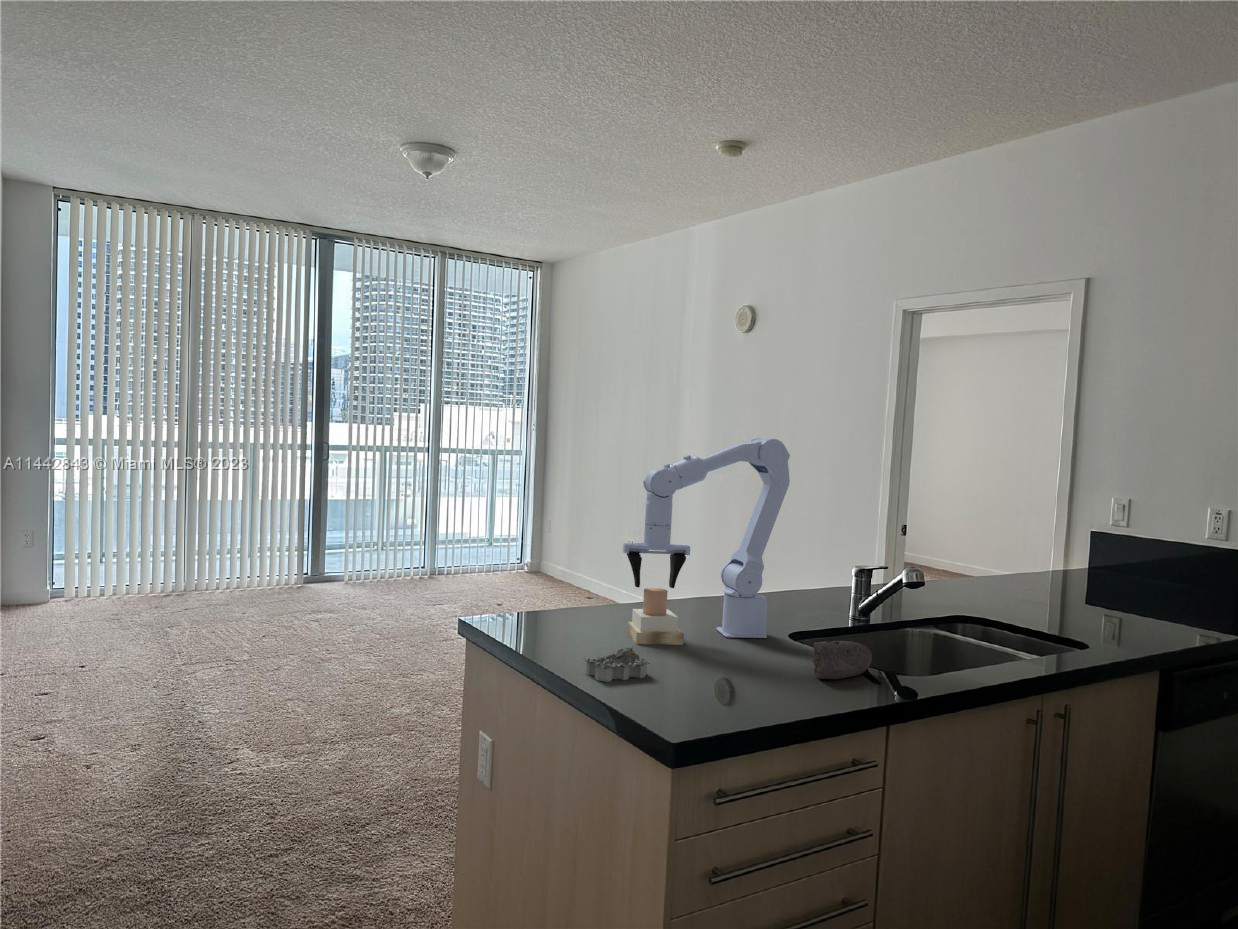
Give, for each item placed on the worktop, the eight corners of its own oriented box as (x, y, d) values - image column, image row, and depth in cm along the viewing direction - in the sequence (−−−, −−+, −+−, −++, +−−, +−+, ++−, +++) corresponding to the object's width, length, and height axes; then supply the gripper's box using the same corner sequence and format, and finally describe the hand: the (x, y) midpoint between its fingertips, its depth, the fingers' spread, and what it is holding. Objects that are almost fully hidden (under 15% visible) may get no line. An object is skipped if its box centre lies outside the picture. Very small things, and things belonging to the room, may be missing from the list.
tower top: (667, 622, 180) (668, 609, 180) (677, 631, 173) (678, 617, 172) (631, 622, 179) (632, 608, 179) (640, 631, 171) (641, 617, 171)
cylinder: (669, 612, 177) (670, 589, 176) (662, 617, 172) (663, 593, 172) (647, 610, 178) (648, 587, 178) (639, 614, 174) (640, 590, 174)
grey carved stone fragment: (633, 668, 153) (634, 646, 153) (652, 679, 146) (654, 656, 146) (580, 672, 148) (582, 649, 148) (598, 684, 141) (599, 660, 141)
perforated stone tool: (860, 669, 160) (862, 634, 159) (881, 677, 155) (883, 641, 155) (801, 677, 152) (803, 639, 152) (820, 685, 148) (823, 646, 148)
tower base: (672, 635, 181) (672, 622, 181) (682, 647, 172) (683, 633, 171) (627, 635, 180) (628, 621, 180) (635, 647, 170) (636, 632, 170)
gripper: (685, 523, 183) (682, 584, 184) (621, 521, 181) (618, 582, 181) (694, 527, 176) (690, 590, 177) (627, 524, 174) (624, 588, 174)
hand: (654, 587), depth 178 cm, fingers open, 7 cm apart
